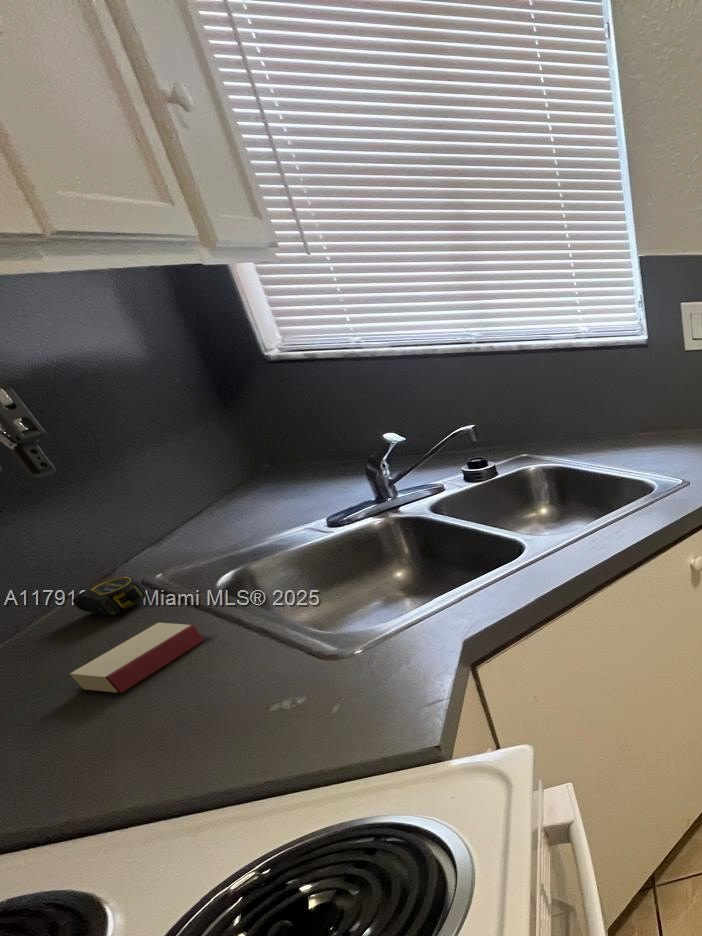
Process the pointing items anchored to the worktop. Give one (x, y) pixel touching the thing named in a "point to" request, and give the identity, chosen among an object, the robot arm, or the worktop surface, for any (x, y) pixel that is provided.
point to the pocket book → (137, 657)
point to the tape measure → (111, 596)
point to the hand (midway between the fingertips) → (18, 475)
